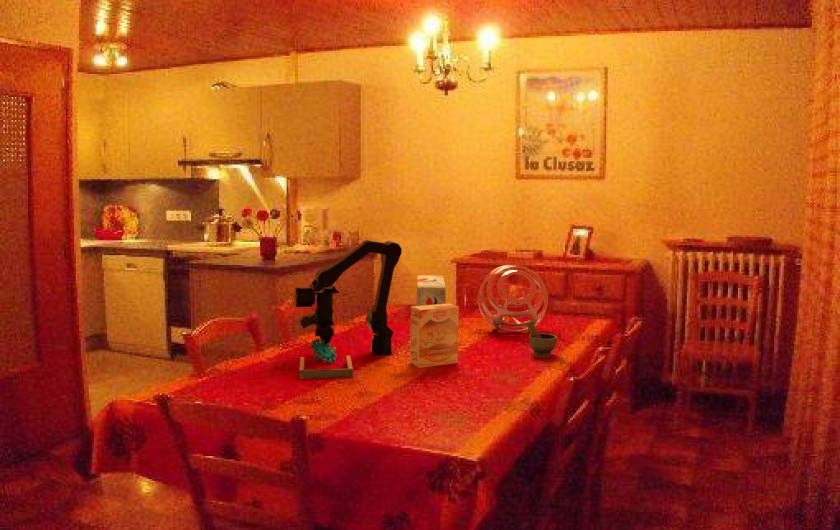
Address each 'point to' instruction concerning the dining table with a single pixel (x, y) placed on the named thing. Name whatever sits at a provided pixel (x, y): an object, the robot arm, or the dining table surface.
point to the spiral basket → (513, 299)
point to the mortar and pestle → (541, 341)
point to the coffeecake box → (434, 335)
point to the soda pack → (430, 290)
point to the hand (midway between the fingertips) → (324, 350)
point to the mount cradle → (326, 371)
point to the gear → (323, 351)
